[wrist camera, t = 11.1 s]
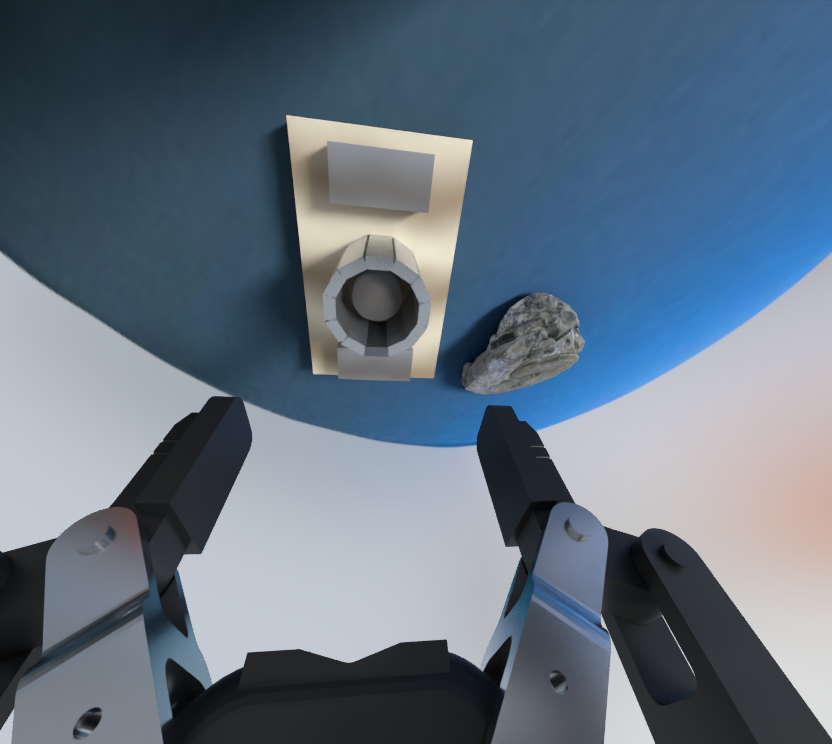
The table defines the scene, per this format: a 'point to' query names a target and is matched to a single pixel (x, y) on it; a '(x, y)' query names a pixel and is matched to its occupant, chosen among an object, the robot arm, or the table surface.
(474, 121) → the table surface
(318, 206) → the shaft block
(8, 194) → the table surface
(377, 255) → the hub ring
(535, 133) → the table surface
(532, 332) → the fossilized seashell
